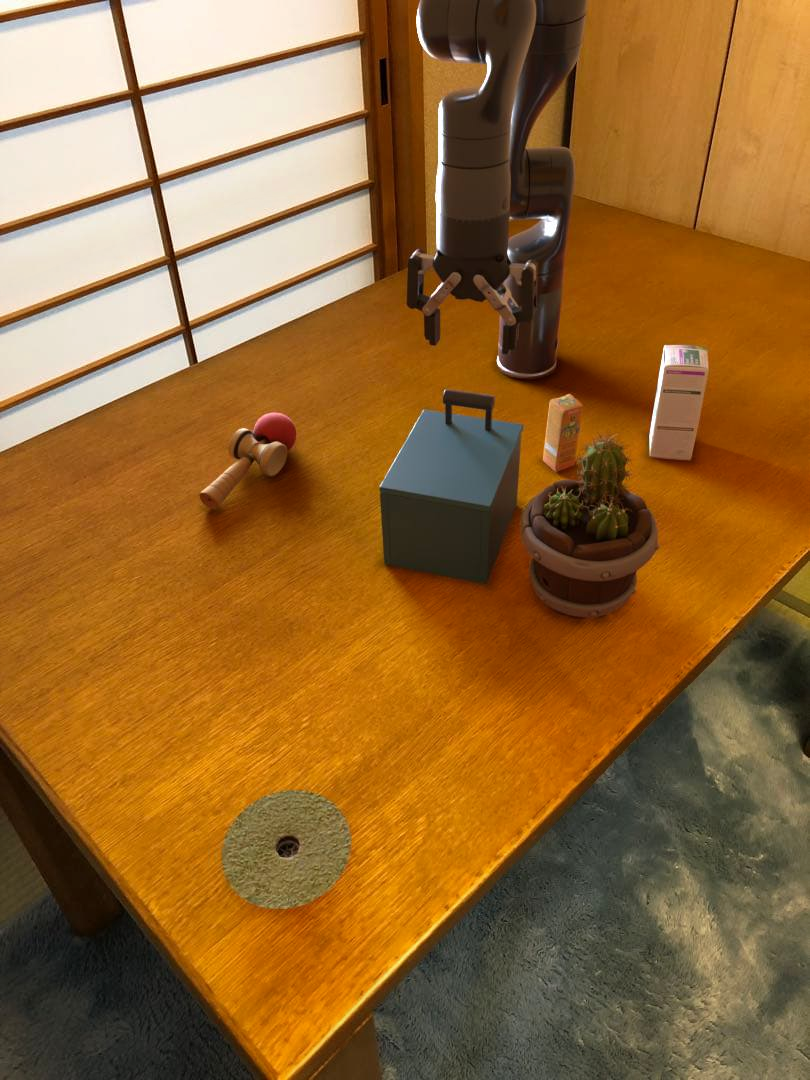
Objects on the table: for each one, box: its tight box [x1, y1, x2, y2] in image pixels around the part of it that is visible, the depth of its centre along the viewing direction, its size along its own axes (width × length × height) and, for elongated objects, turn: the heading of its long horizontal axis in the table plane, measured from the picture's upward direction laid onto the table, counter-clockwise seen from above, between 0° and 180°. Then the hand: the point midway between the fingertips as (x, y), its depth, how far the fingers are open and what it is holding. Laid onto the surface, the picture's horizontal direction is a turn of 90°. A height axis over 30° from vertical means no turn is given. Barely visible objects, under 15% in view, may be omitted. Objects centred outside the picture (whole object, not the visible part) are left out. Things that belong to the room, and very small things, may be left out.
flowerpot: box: [520, 429, 660, 620], centre depth 95 cm, size 14×15×20 cm
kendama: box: [199, 412, 297, 511], centre depth 119 cm, size 8×6×18 cm
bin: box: [379, 435, 522, 586], centre depth 106 cm, size 16×13×11 cm
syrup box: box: [649, 344, 710, 461], centre depth 118 cm, size 6×6×14 cm
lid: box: [379, 388, 525, 512], centre depth 101 cm, size 17×13×5 cm
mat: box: [220, 789, 352, 910], centre depth 77 cm, size 11×11×2 cm
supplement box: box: [542, 393, 584, 473], centre depth 117 cm, size 3×3×10 cm
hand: (470, 346), depth 100 cm, fingers open, 8 cm apart
